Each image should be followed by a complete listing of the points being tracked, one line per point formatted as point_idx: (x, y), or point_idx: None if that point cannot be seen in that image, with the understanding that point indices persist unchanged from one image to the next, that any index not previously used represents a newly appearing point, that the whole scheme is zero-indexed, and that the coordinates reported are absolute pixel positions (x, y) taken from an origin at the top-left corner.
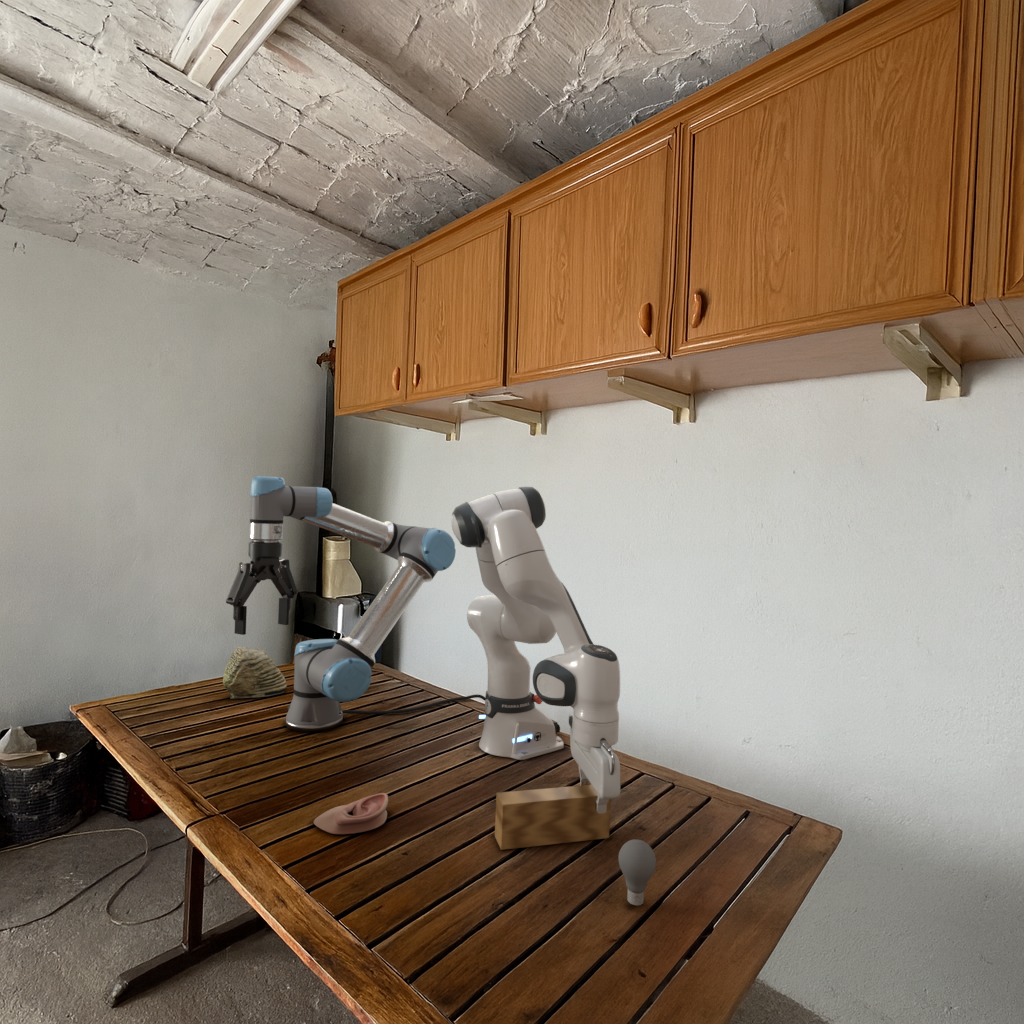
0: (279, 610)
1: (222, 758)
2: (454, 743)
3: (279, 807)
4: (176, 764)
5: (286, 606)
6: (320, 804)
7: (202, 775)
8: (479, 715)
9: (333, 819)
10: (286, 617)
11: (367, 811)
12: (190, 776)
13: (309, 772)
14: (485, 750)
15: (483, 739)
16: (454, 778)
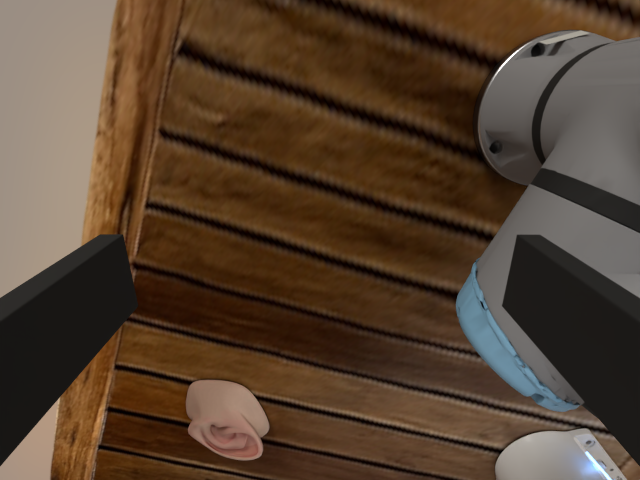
0: (584, 295)
1: (272, 89)
2: (525, 401)
3: (197, 319)
4: (195, 22)
5: (595, 405)
6: (237, 357)
7: (195, 124)
8: (590, 457)
9: (196, 413)
10: (531, 338)
11: (231, 438)
12: (178, 107)
13: (312, 280)
14: (504, 453)
15: (522, 458)
16: (398, 450)
